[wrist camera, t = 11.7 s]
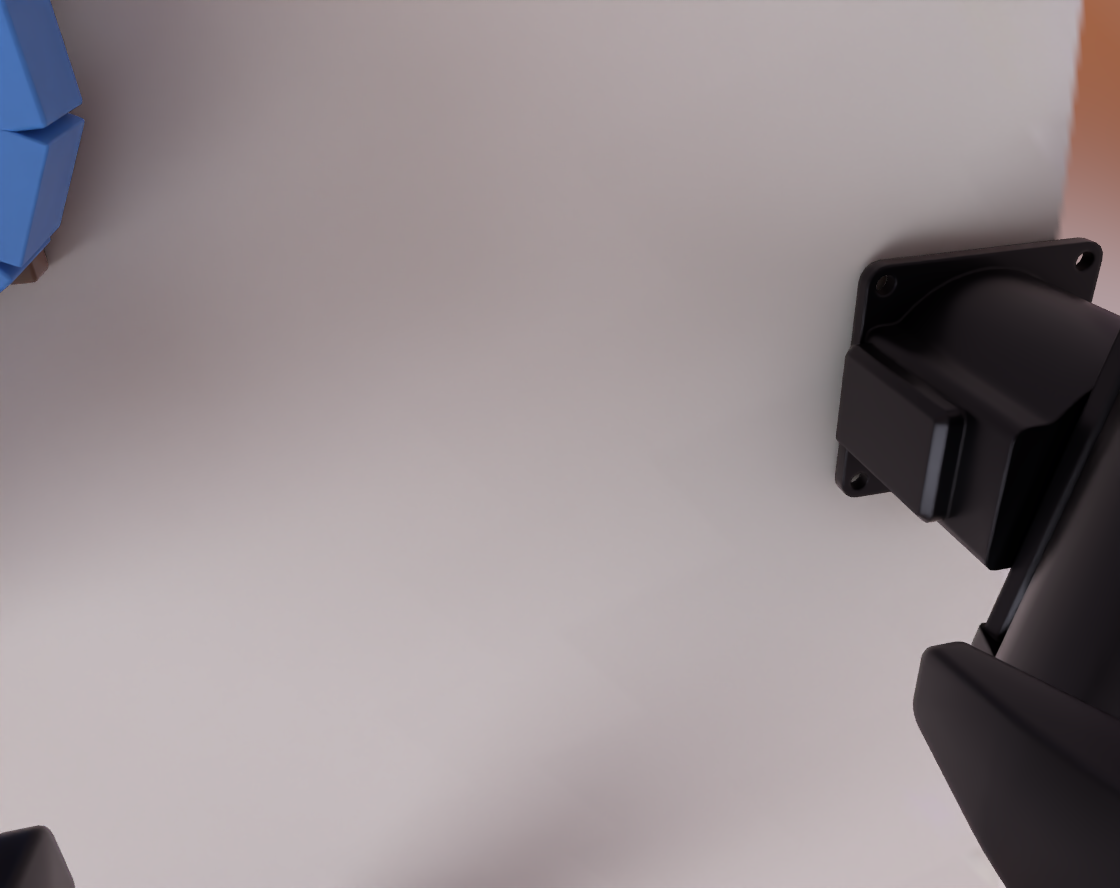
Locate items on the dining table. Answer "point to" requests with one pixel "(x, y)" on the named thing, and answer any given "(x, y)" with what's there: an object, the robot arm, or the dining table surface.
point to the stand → (33, 270)
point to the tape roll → (33, 131)
